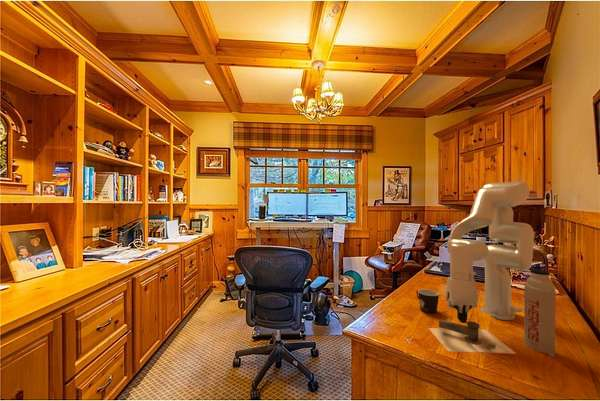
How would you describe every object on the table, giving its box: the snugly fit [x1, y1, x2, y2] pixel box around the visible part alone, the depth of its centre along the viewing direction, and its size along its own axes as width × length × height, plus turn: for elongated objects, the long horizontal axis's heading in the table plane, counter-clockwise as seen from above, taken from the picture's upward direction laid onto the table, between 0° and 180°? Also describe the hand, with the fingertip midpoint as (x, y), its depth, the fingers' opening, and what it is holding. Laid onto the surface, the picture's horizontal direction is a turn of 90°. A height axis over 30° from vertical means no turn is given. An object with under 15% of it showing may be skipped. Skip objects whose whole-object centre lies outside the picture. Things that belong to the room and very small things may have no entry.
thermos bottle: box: [523, 268, 556, 358], centre depth 92 cm, size 8×8×28 cm
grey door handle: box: [438, 319, 496, 345], centre depth 97 cm, size 18×4×5 cm, turn 49°
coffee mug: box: [416, 288, 440, 315], centre depth 123 cm, size 12×9×10 cm
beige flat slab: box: [428, 327, 517, 355], centre depth 97 cm, size 22×16×2 cm
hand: (462, 321), depth 103 cm, fingers closed
